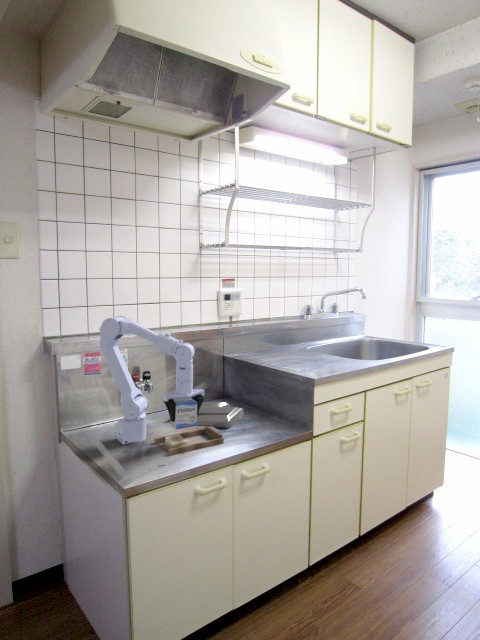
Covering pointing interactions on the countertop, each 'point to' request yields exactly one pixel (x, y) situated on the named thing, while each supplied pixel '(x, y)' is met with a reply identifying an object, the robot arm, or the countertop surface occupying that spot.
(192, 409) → the medicine box
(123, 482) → the countertop surface
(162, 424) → the countertop surface
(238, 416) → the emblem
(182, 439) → the offcut top
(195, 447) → the rack
